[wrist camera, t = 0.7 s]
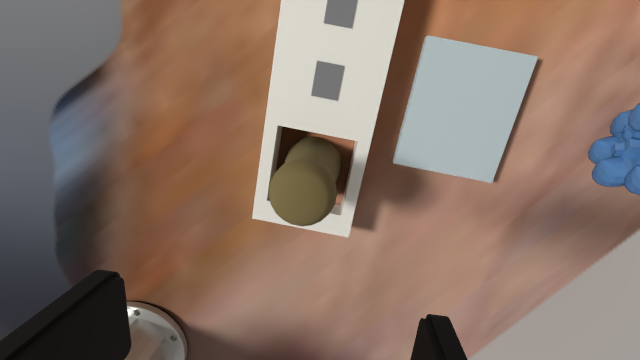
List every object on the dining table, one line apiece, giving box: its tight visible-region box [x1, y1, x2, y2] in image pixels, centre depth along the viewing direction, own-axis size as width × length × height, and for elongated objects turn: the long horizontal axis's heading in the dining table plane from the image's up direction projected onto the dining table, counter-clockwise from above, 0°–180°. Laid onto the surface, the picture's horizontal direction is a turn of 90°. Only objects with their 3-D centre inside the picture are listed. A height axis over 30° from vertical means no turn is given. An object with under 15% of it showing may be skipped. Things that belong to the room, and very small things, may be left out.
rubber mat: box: [392, 35, 538, 183], centre depth 30 cm, size 12×10×1 cm
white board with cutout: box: [252, 0, 404, 237], centre depth 29 cm, size 24×10×3 cm, turn 169°
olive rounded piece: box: [269, 136, 342, 226], centre depth 27 cm, size 6×6×11 cm
